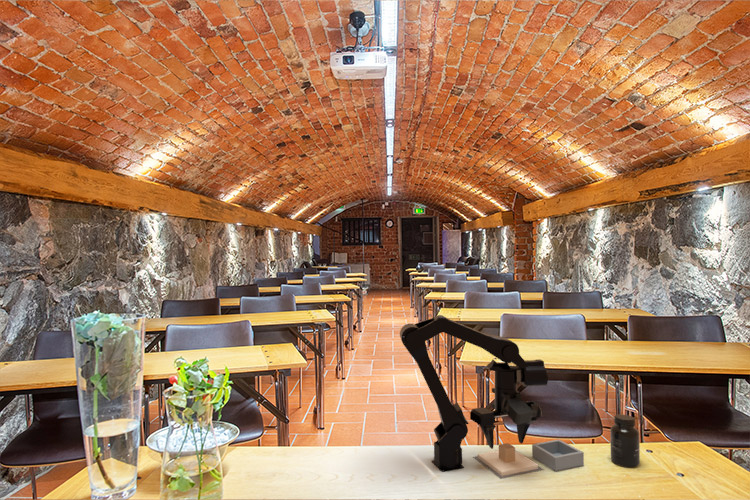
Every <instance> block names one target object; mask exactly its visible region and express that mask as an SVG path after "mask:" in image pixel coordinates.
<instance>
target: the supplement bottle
mask: <svg viewBox="0 0 750 500" xmlns="http://www.w3.org/2000/svg"><path fill="white" fill-rule="evenodd" d="M613 419H614V421H613V423H614V424H613V425H612V426H610V431H609V432H610V434H609V435H610V460H611V461H612V462H613V463H614V464H615V465H617V466H620V467H623V468H637V467H639V465H640V462H641V461H640V460H641V458H640V457H641V456H640V453H641V452H640V447H641V446H640V432H639V430H638V429H637V428H636V419H635V417H633V416H631V415H627V414H622V413H621V414H620V413H619V414H615V415H614V417H613Z"/></svg>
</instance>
